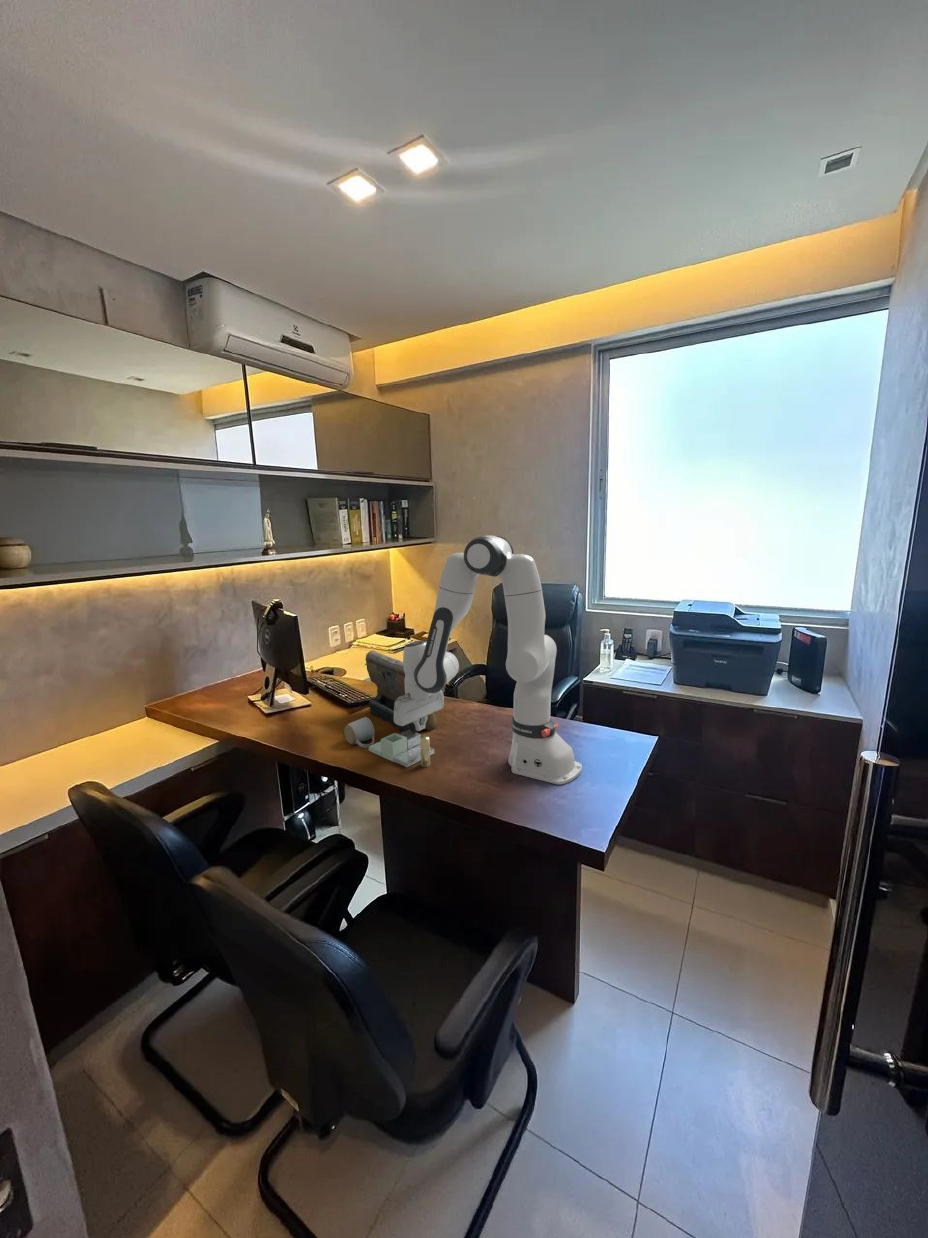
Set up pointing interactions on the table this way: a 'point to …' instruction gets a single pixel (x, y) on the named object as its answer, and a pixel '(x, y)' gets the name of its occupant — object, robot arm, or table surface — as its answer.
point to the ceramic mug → (359, 732)
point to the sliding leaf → (411, 749)
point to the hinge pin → (425, 751)
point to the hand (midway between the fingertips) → (420, 729)
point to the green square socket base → (390, 746)
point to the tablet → (389, 689)
